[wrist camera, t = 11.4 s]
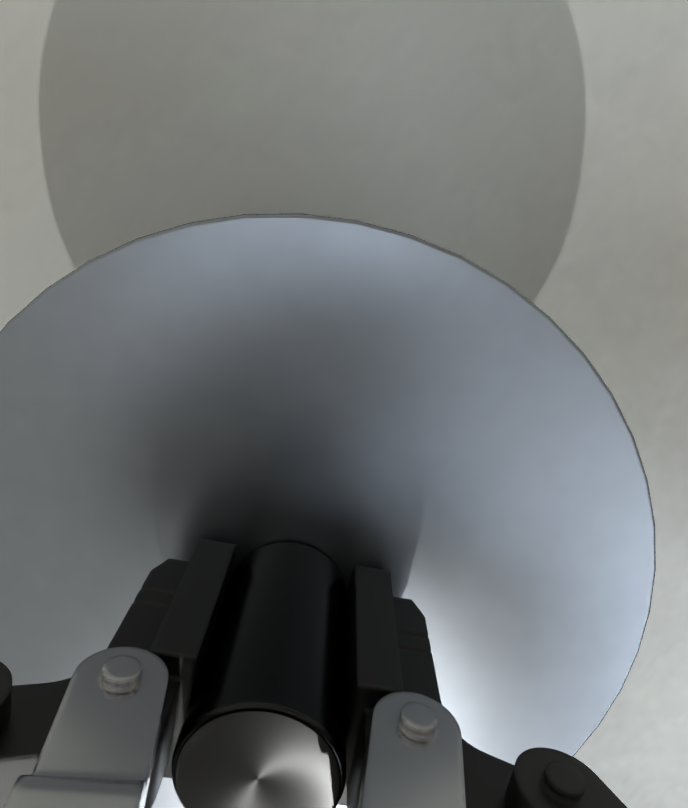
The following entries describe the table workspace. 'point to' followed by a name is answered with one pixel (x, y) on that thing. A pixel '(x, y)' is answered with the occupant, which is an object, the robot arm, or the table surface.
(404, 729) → the robot arm
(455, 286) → the lid
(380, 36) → the table surface
